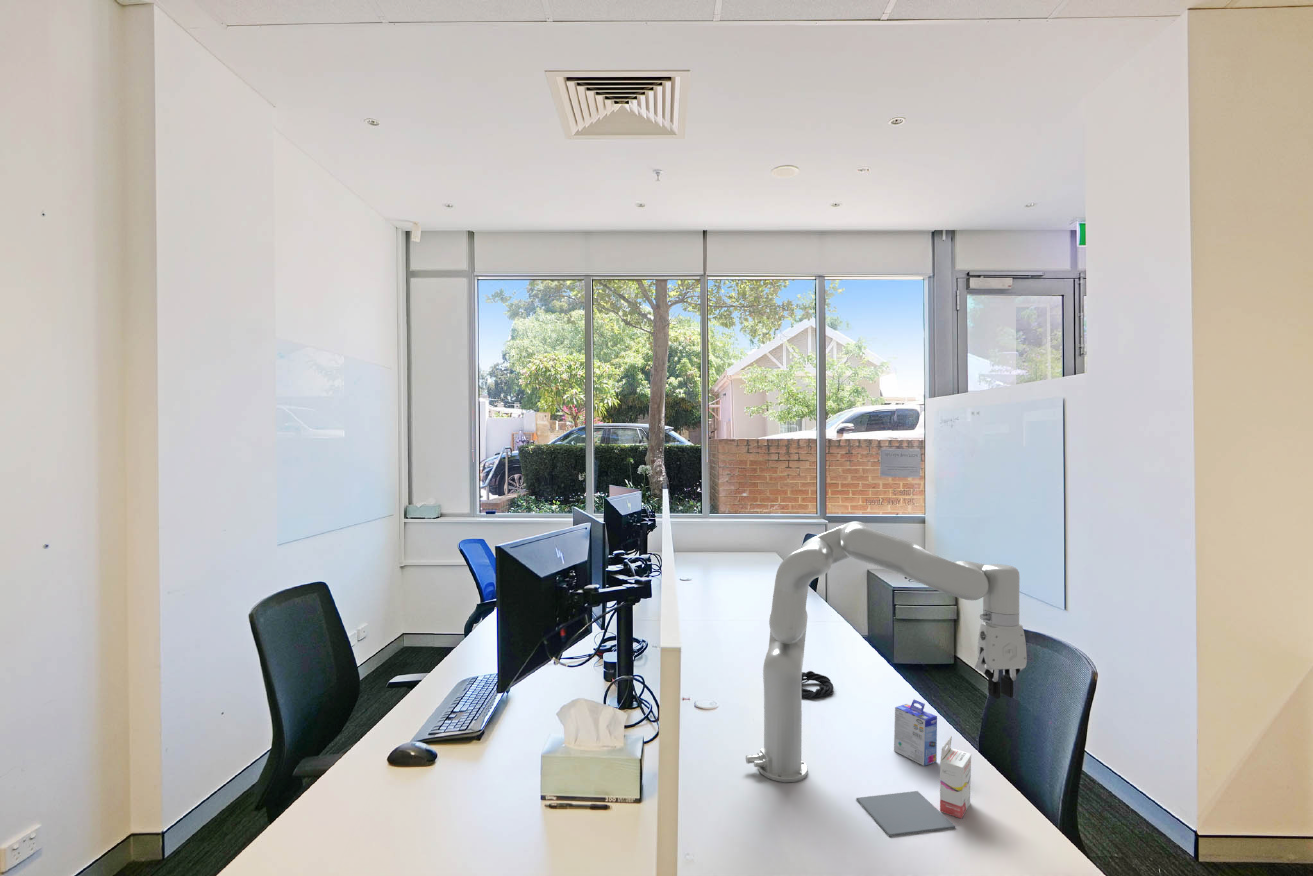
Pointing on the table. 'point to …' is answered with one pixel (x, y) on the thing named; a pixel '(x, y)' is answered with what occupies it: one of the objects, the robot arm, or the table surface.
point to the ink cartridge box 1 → (915, 733)
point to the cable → (822, 690)
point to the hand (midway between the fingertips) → (1000, 695)
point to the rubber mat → (904, 813)
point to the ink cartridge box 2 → (954, 780)
